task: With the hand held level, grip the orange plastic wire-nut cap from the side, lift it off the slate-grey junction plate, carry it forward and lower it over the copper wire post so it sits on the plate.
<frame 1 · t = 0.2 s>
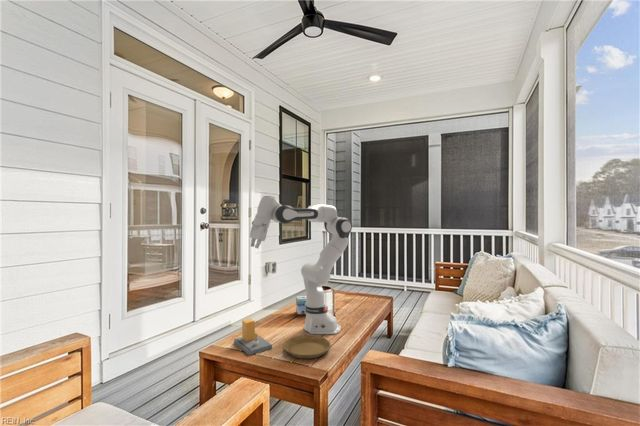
hand: (254, 247, 178), 52 cm above the table, tool tilted 20°, fingers open, 8 cm apart
light bulb box: (304, 312, 227), on the table
junction plate: (252, 345, 172), on the table
plant saucer: (307, 350, 166), on the table
wire nut cap: (248, 338, 176), point 2 cm above the table, touching junction plate
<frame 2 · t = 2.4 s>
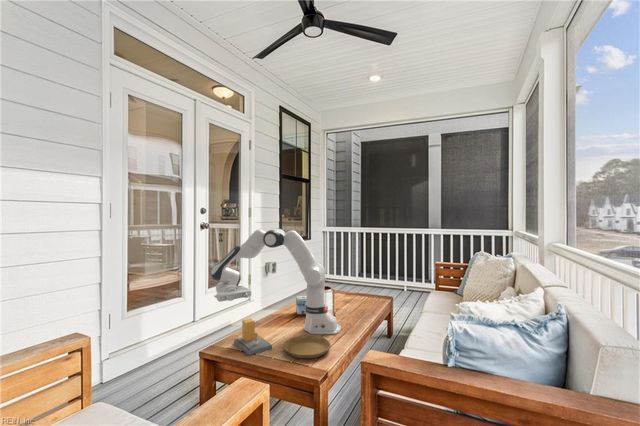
hand: (239, 297, 185), 22 cm above the table, tool horizontal, fingers open, 8 cm apart
nothing on the table moved.
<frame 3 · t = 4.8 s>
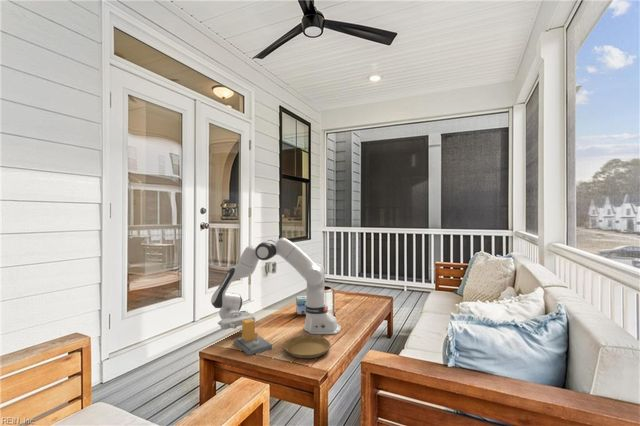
hand: (243, 325, 182), 7 cm above the table, tool horizontal, fingers open, 8 cm apart
nothing on the table moved.
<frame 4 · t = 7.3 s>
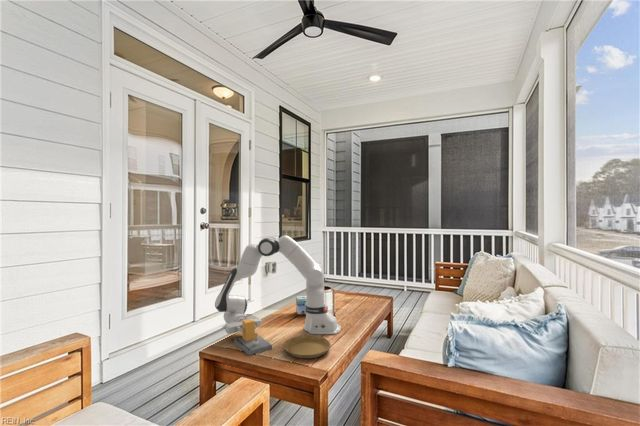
hand: (249, 329, 175), 8 cm above the table, tool horizontal, fingers closed on wire nut cap, 5 cm apart
wire nut cap: (248, 338, 176), point 2 cm above the table, touching gripper, junction plate
everything else where it was.
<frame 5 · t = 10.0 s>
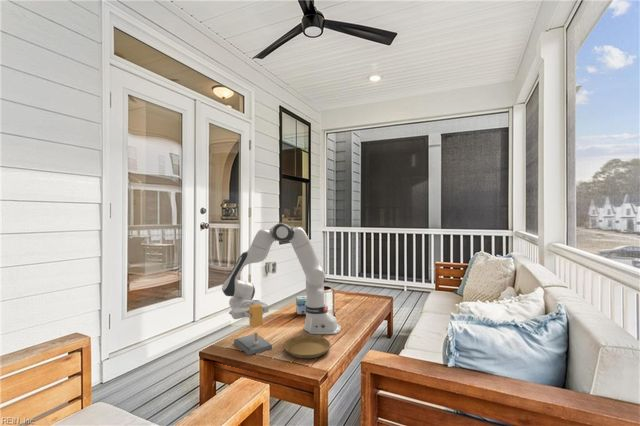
hand: (256, 314, 168), 18 cm above the table, tool horizontal, fingers closed on wire nut cap, 5 cm apart
wire nut cap: (255, 324, 168), point 12 cm above the table, touching gripper
everything else where it was.
when the fingers open (9 cm above the table, at t = 13.1 s): wire nut cap drops 1 cm, resting on junction plate.
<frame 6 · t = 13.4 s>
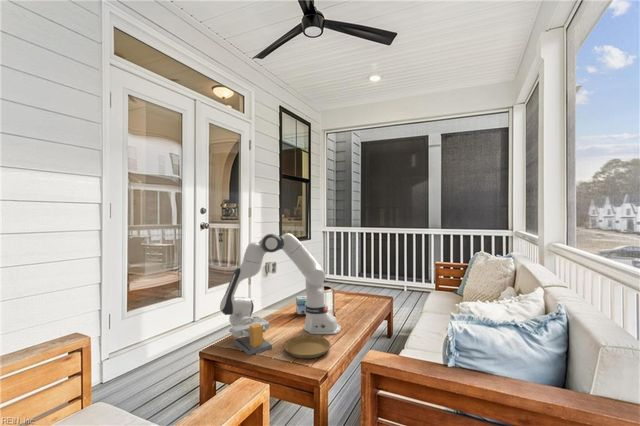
hand: (256, 332, 168), 9 cm above the table, tool horizontal, fingers open, 8 cm apart
wire nut cap: (256, 344, 168), point 2 cm above the table, touching junction plate
everything else where it was.
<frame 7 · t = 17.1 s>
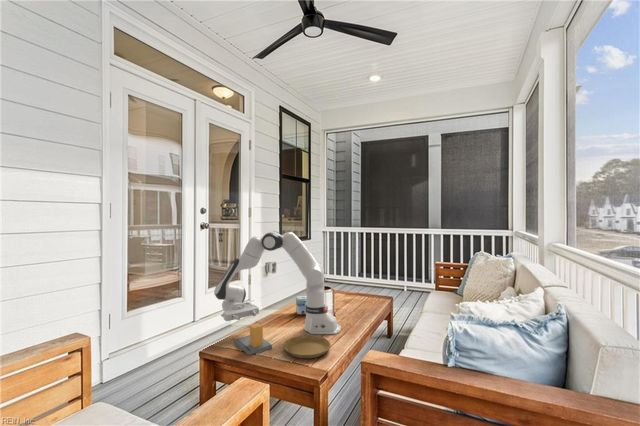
hand: (247, 316, 178), 14 cm above the table, tool horizontal, fingers open, 8 cm apart
nothing on the table moved.
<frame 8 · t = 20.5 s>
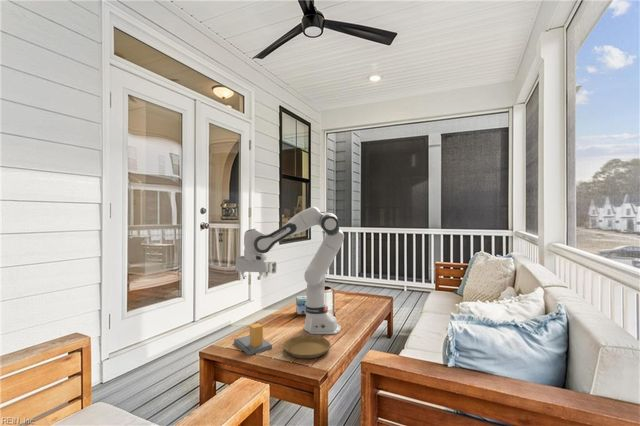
hand: (251, 279, 192), 31 cm above the table, tool pointing down, fingers open, 8 cm apart
nothing on the table moved.
at the end: wire nut cap 0.1 cm from the target spot on the junction plate, point 2.0 cm above the junction plate's base; wire nut cap tilted 0°; the gripper is holding nothing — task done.
